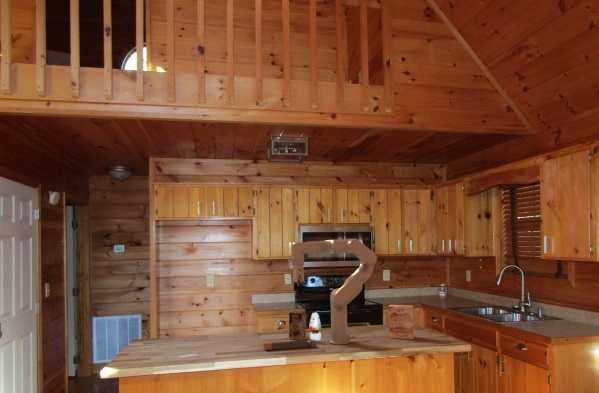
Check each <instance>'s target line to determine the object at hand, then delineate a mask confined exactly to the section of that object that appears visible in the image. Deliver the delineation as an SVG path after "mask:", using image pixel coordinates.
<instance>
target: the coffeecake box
mask: <svg viewBox="0 0 599 393" xmlns="http://www.w3.org/2000/svg"><path fill="white" fill-rule="evenodd" d="M387 308H388V309H387V314H388V338H389V339H403V340H414V338H415V326H414V325H415V323H414V322H415V321H414V305H411V304H410V305H408V304H407V305H406V304H405V305H404V304H389V305H388V306H387Z"/></svg>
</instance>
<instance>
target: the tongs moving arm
mask: <svg viewBox="0 0 599 393" xmlns="http://www.w3.org/2000/svg"><path fill="white" fill-rule="evenodd" d="M311 340H312V339H309V340H306V341H300V340H292V341H293V342H285V341H277V342H278V343H266V342H263V350H264V351H274V350H288V349H289V350H290V349H304V348H313V347H312V341H311Z"/></svg>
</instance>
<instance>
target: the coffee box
mask: <svg viewBox="0 0 599 393" xmlns="http://www.w3.org/2000/svg"><path fill="white" fill-rule="evenodd" d="M288 330H289V331H288V334H289V335H288V339H289V340H293V341H300V340H306V339H307V312H305V311H304V312H303V311H290V312H288Z"/></svg>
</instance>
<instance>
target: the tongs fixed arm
mask: <svg viewBox="0 0 599 393" xmlns="http://www.w3.org/2000/svg"><path fill="white" fill-rule="evenodd" d="M310 340H311V341H312V347H311V348H312V349H313V348H317V341H316V339H310ZM293 341H294V340H288V341H285V340H284V342H293ZM299 341H307V340H306V339H304V340H299ZM278 342H279V341H272V342H267V341H266V342H265V343H278Z"/></svg>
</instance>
